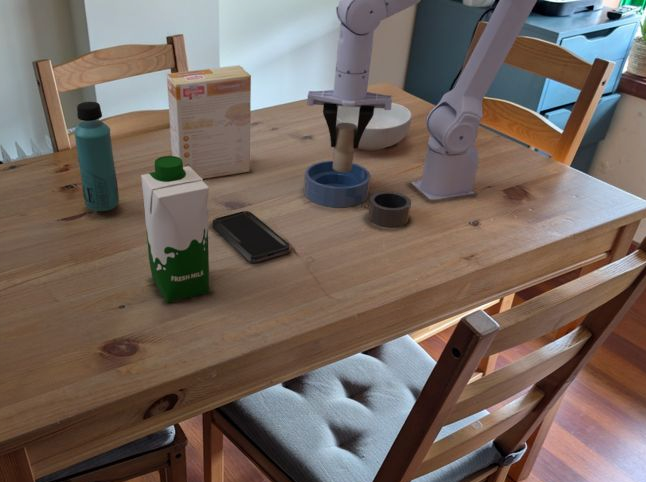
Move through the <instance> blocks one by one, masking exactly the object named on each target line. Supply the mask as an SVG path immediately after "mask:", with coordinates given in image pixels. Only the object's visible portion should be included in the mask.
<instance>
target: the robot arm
mask: <svg viewBox="0 0 646 482" xmlns="http://www.w3.org/2000/svg"><path fill="white" fill-rule="evenodd" d="M420 2H421V0H339V3H338V5H337V6H336V7H335V12H336V16H337V19H338V21H339V22H340V25H339V34H338V39H337V51H336V62H335V72H334V82H333V83H334V85H333V89H330V90H328V89H327V90H308V92H307V101H306V106H310V107H313V106H314V105H317V106H323V107H322V114H323V118H324V119H325V122H326V126H327V129H328V133H329V137H330V148H334V147H335V137H336V121H337V111H338V106H345V107H360V110H359V118H358V126H357V131H356V138H355V144H354V150H359V149H358V145H359V142H360V139H361V137H362V134H363V132H364V130H365V128H366V126H367V125H368V123H369V122H370V120H371V119H372V117H373V114H374V108H383V109H384V110H391V104H392V102H393V95H390V94H389V95H388V94H382V93H381V94H380V93H375V92H370V91H368V86H369V78H370V69H371V60H372V53H373V45H374V33H375V30H377V28H378V27H379V25H380V24H381V22H382V21H383V20H386V19H388V18H390V17H393V16H394V15H397V14H398V13H400V12H402V11H405V10H406V9H409V8H410V7H413V6H415V5H417V4H419V3H420ZM537 2H538V0H499V1H498V3H497V4H496V7H495V8H494V10H493V12H492V14H491V16H490V18H489V19H488V22H487V24H486V26H485V28H484V30H483V31H482V33H481V36H480V37H479V39H478V40H477V41H478V42H477V43H476V45H475V47H474V49H473V51H472V53H471V55H470V57H469V58H468V61H467V63H466V65H465V66H464V69H463V70H462V72H461V74H460V76H459V78H458V80H457V82H456V84H455V86H454V88H453V89H451V90H449V91H448V92H445V93H444V94H443V95H442V97H441V99H440V101H439V102H438V103H437V104H436V105H435V106H434V107H433V108H432V109H431V110H430V111H429V112H428V114H427V117H426V121H425V126H426V129H427V131H428V132H429V138H428V142H427V147H426V152H425V157H424V163H423V167H422V172H421V173H422V174H421V178H420V179H421V180H416V181H415V180H414V181H412V182H411V184H412V185H413V186H414V187H415V188H416V189H417V190H419V191H420V192H421V193H422V194H423V195H425V196H426V197H427V198H428V199H429V200H431V201H433V200H440V199H447V198H454V197H460V196H466V195H467V196H468V195H474V194H475V191H473V189H474V184H475V180H476V176H477V171H478V168H479V162H480V157H479V151H478V148H477V147H476V146H475V142H476V141H477V138H478V132H479V127H480V124H481V122H482V120H483V118H484V117H483V116H484V115H483V100H484V99H485V96H486V95H487V93H488V91H489V89H490V87H491V86H492V84H493V82H494V80H495V78H496V76H497V75H498V73H499V71H500V69H501V67H502V66H503V64H504V62H505V60H506V58H507V57H508V55H509V53H510V51H511V49H512V47H513V45H514V43H515V42H516V40H517V38H518V36H519V34H520V32H521V31H522V29H523V27H524V25H525V24H526V21H527V20H528V17H529V16H530V14H531V12H532V10H533V8H534V7H535V6H536V3H537Z"/></svg>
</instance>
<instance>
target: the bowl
mask: <svg viewBox="0 0 646 482" xmlns="http://www.w3.org/2000/svg"><path fill="white" fill-rule="evenodd" d="M332 167H333V160H322V161H318V162H315V163H312V164H311V165H309V166H308V167H307V168H306V170H305V171H304V179H303V180H304V181H303V183H304V184H303V195H304V197H305V198H306V199H307V200H308V201H310V202H312V203H314V204H316V205H319V206H323V207H327V208H350V207H355V206H358V205H360V204H363V203H365V201H367V199H368V196H369V192H370V184H371V179H372V178H371V177H372V176H371V173H370V171H369V170H368V169H367V168H366V167H364V166H362V165H360V164H358V163H355V162H353V163H352V170H351V171H348V172H338V171H335V170H334V169H333V168H332Z"/></svg>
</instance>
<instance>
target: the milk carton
mask: <svg viewBox="0 0 646 482" xmlns="http://www.w3.org/2000/svg"><path fill="white" fill-rule="evenodd" d="M140 177H141V186H142V195H143V206H144V207H143V208H144V218H145V219H144V220H145V229H146V241H147V242H146V243H147V252H148V262H149V267H150V273H151V279H152V281H153V283H154V284H155V286H156V287H157V289H158V290H159V292H160V294H161V295H162V297H163V298H164V300H165V302H166V303H167V304H169V303H173V302H178V301H181V300H185V299H189V298H193V297H197V296H201V295H206V294H209V293H210V262H209V261H210V260H209V259H210V258H209V218H208V217H209V214H208V213H209V212H208V211H209V210H208V204H209V193H210V187H209V186H208V184H206V182H205V181H204V179H202V178H201V177H200V176H199V175H198V174H197V173H196V172H195V171H194V170H193V169H192V168H191V167H190V166H187V167H183V161H182V159H181V158H179V157H175V156H172V155H163V156H160V157H158V158H156V159H155V160H154V171H151V172H148V173H145V174H141V175H140Z"/></svg>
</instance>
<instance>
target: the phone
mask: <svg viewBox="0 0 646 482" xmlns="http://www.w3.org/2000/svg"><path fill="white" fill-rule="evenodd" d="M212 228H213V229H214V230H215V231H216V232H217V233H218V234H219V235H220V236H221V237H222V238H223V239H224V240H225V241H227V242H228V243H229V244H230V246H231V247H234V249H235V250H236V251H237V252H238V253H240V254H241V255H242V256H243V257H244V259H246V260H247V261H248V262H250V263H253V264H254V263H255V264H256V263H260V262H263V261H266V260H270V259H273V258H278V257H281V256H284V255H288V254H289V253H290V244H289V243H288V242H287V241H286V240H285V239H284V238H282V236H280V235H279V234H278V233H277V232H275V231H274V230H273V229H271V228H270V227H269V225H267V224H266V223H264V222H263V221H262V220H261V219H260V218H258V217H257V216H256V215H255V214H254V213H253V212H251V211H249V210H242V211H238V212H234V213H231V214H227V215H223V216H220V217H215V218H213V219H212Z"/></svg>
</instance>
